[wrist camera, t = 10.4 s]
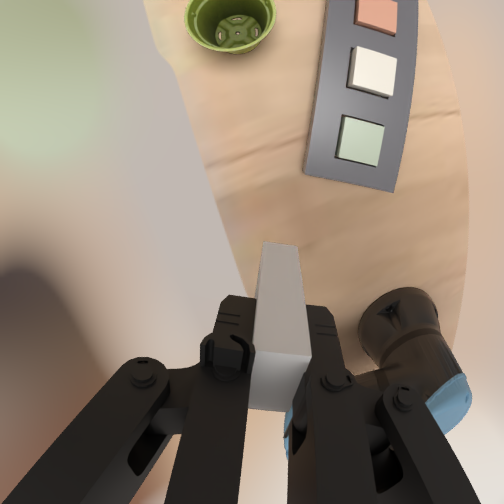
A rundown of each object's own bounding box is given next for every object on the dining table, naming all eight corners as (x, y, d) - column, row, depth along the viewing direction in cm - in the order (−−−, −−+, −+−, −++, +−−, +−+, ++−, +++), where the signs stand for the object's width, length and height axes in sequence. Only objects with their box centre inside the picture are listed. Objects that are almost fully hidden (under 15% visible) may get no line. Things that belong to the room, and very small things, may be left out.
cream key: (384, 97, 29) (392, 96, 27) (346, 86, 29) (352, 84, 27) (388, 62, 27) (397, 58, 24) (351, 50, 27) (357, 46, 25)
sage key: (370, 162, 34) (377, 166, 32) (334, 154, 34) (338, 157, 32) (377, 126, 32) (384, 127, 29) (340, 116, 32) (345, 116, 29)
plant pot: (271, 1, 26) (269, -26, 19) (280, 62, 30) (281, 45, 23) (200, 11, 28) (181, -12, 20) (206, 71, 32) (188, 58, 24)
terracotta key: (388, 37, 26) (396, 33, 24) (352, 26, 26) (357, 20, 24) (389, 8, 24) (397, 2, 21) (354, -3, 24) (360, -10, 21)
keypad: (385, 187, 36) (393, 193, 34) (302, 170, 37) (304, 174, 34) (409, 4, 24) (418, -2, 21) (328, -21, 24) (332, -30, 21)
